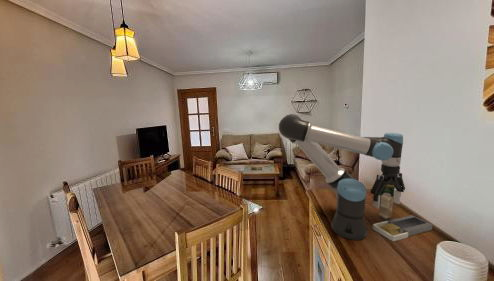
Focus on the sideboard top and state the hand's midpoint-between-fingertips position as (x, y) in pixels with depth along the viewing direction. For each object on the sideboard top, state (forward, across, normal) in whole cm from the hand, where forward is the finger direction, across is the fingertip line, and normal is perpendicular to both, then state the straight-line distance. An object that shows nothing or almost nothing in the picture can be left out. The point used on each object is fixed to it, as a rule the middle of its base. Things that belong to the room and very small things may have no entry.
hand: (386, 205), depth 102 cm
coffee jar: (+8, +13, +11) cm, 19 cm away
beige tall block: (+8, 0, 0) cm, 8 cm away
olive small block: (+8, -6, -9) cm, 14 cm away
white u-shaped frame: (+8, -8, -9) cm, 15 cm away
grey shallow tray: (+8, +4, -9) cm, 13 cm away
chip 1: (+8, -9, -9) cm, 15 cm away
